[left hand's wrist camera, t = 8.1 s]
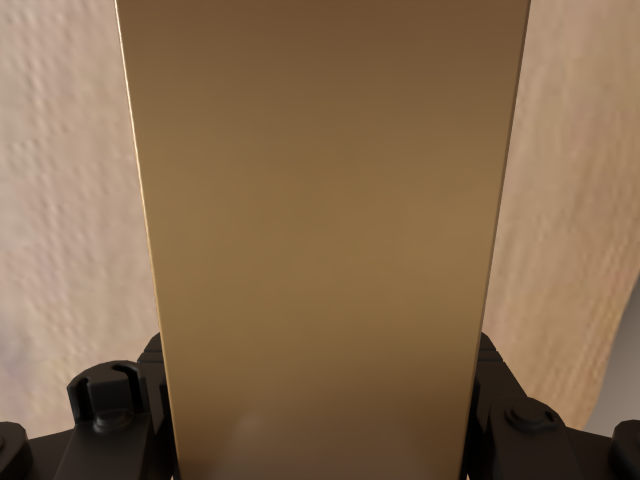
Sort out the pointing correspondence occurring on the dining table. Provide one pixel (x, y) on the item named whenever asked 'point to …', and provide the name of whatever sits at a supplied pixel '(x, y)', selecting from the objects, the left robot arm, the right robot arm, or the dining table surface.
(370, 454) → the bar
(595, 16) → the dining table surface
